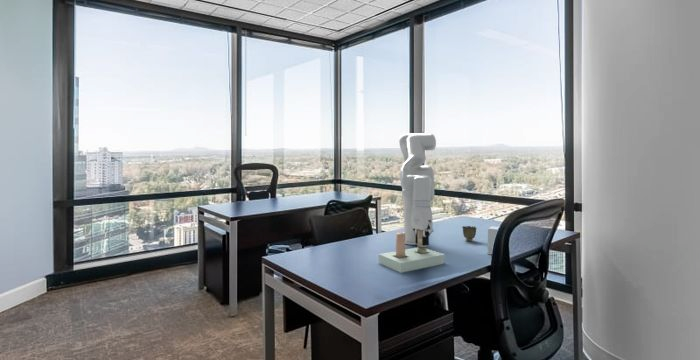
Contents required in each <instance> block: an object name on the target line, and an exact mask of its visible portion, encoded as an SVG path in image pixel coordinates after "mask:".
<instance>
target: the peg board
mask: <svg viewBox="0 0 700 360" xmlns="http://www.w3.org/2000/svg"><path fill="white" fill-rule="evenodd" d="M445 259H446V258H445V254H444V253H442V252H438V251H435V250H433V249H429V248H427V253H426V254H422V255H421V254H418V247H412V248H405V258H401V259H399V258H396V250H395V251H390V252H383V253H379V254H378V264H379V265H382V266H384V267H387V268H389V269H391V270H394V271H396V272H398V273H400V274H401V273H406V272H411V271H416V270H421V269H425V268H429V267H434V266H438V265H444V264H445V262H446V261H445Z"/></svg>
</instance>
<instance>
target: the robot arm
mask: <svg viewBox="0 0 700 360" xmlns="http://www.w3.org/2000/svg"><path fill="white" fill-rule="evenodd" d="M398 141H399V147H400V150H401V153H402V157H403V164H402V166H401V168H400V172H399V173H400V187H401V189H402V190H401V198H402V204H403V206H402V207H403V231H402V233H405V245H412V246H413V245H414V246H415V245H417V246H418V229H419V230H423V236H424V237H422V245H423V246H426V245H427V246H429V245H430V241H429V240H430V238H429V237H430V236H431V235H432V233H434V228H433V225H434V223H433V211H432V207H431V206H432V205H431V203H432V202H433V201H434V200H435V173H434V172H435V171H434V169H433V167H432V166H431V165H423V164H424V163H425V162H426V159H427V157H426V151H434V150H435V149H436V146H437V140H436V137H435V135H434V134H433V133H431V132H430V133H429V132H421V133H420V132H419V133H417V132H415V133H413V132H411V133H403V134H401V135H400V136H399V140H398ZM425 231H427V232H425Z"/></svg>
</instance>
